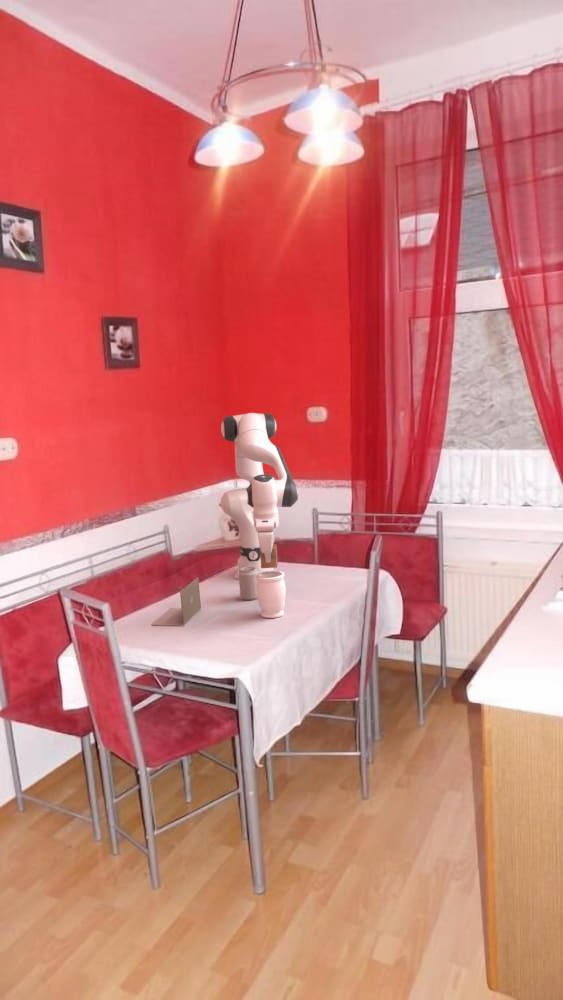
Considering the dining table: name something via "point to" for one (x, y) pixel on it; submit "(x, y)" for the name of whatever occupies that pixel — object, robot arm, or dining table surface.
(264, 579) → the jar
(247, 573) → the can
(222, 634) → the dining table surface
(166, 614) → the laptop
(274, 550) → the walnut block
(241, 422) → the robot arm
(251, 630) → the dining table surface
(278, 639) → the dining table surface
